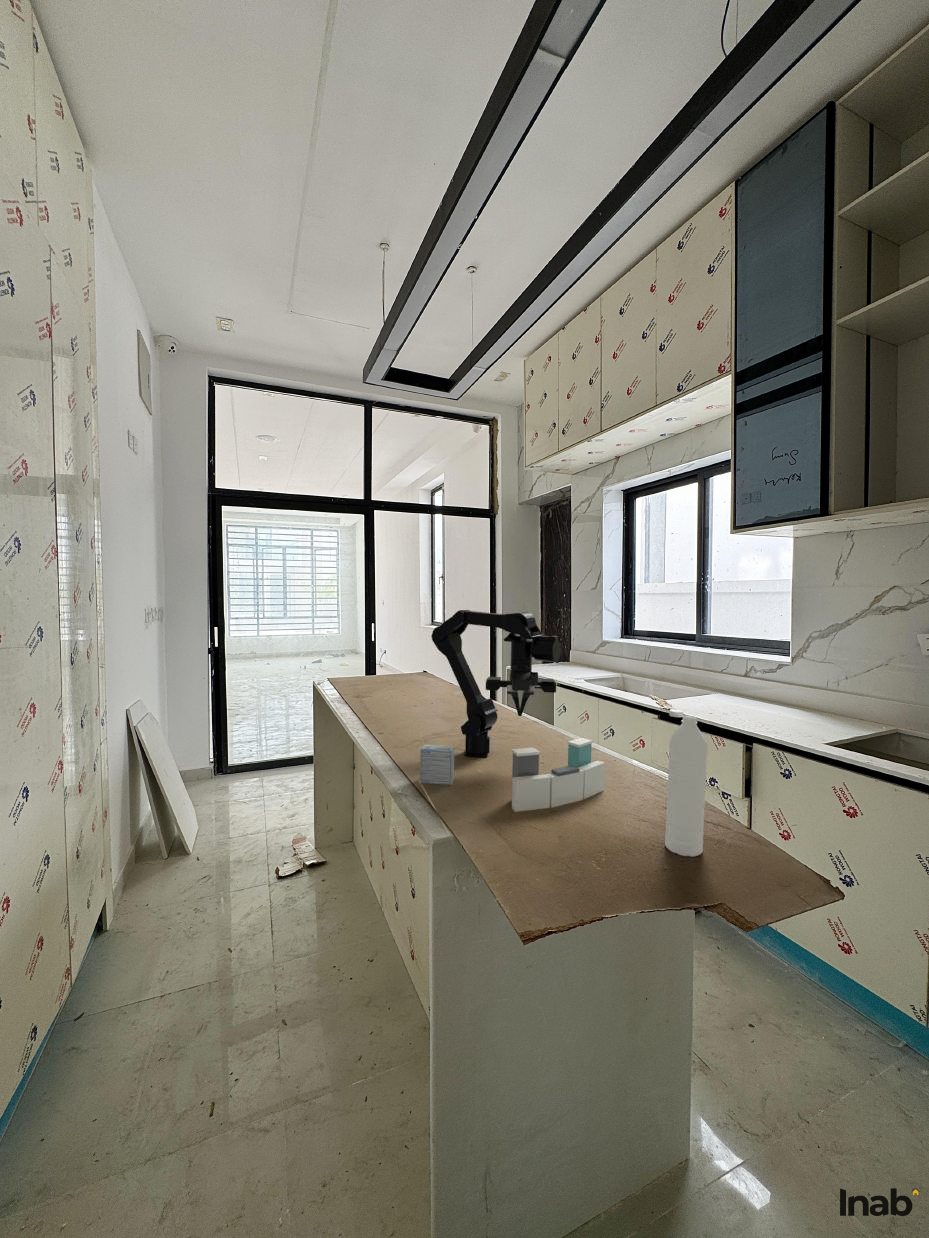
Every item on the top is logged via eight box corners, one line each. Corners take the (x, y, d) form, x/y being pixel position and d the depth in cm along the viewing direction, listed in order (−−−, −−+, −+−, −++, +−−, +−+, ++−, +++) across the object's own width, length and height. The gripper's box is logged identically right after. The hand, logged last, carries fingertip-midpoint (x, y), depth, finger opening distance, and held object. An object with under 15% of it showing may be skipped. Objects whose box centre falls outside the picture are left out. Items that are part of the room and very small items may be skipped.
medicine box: (454, 779, 130) (454, 745, 130) (451, 786, 126) (452, 751, 125) (422, 777, 131) (423, 743, 130) (419, 784, 127) (419, 749, 126)
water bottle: (710, 856, 95) (717, 720, 94) (677, 858, 94) (683, 721, 92) (682, 833, 104) (688, 708, 102) (651, 835, 103) (657, 709, 101)
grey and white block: (511, 799, 118) (512, 749, 117) (532, 797, 119) (533, 747, 118) (516, 805, 115) (517, 753, 114) (538, 803, 116) (539, 751, 115)
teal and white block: (566, 789, 124) (567, 741, 123) (579, 784, 128) (580, 737, 127) (577, 793, 122) (579, 744, 121) (590, 788, 125) (592, 740, 125)
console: (521, 816, 110) (521, 780, 109) (509, 809, 113) (510, 774, 113) (610, 794, 122) (611, 761, 122) (597, 788, 126) (599, 756, 125)
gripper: (485, 662, 134) (483, 722, 135) (558, 664, 133) (556, 725, 134) (487, 656, 145) (486, 711, 146) (555, 658, 144) (553, 714, 145)
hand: (519, 715), depth 143 cm, fingers closed
